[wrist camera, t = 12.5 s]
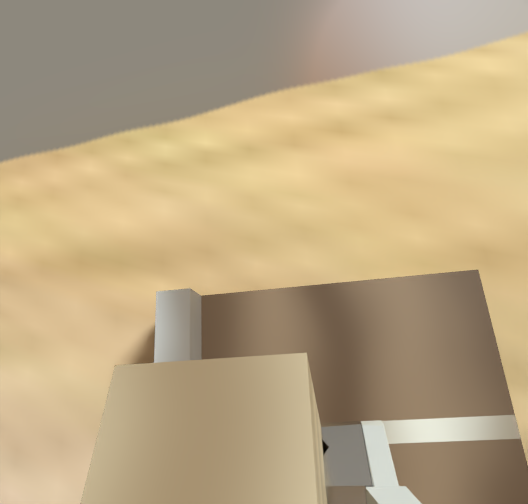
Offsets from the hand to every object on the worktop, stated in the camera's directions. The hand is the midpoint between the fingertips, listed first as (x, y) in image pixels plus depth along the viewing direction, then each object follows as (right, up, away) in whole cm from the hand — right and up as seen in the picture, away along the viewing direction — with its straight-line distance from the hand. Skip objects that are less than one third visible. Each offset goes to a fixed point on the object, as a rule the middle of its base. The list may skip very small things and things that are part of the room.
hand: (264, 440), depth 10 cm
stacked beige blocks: (+1, -5, +3) cm, 6 cm away
